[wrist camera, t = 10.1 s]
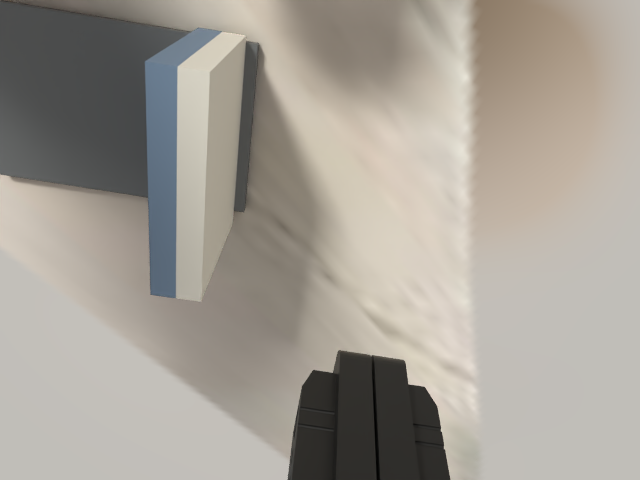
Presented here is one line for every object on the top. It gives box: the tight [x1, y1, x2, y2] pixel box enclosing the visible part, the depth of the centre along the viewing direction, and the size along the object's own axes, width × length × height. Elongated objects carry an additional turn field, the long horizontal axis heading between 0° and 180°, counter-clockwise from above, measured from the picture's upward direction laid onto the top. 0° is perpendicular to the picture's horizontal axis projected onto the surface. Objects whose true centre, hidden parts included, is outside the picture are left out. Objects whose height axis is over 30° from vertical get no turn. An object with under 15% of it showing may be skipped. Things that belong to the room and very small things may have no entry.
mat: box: [0, 0, 259, 212], centre depth 24 cm, size 8×12×1 cm, turn 81°
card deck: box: [145, 28, 246, 302], centre depth 21 cm, size 6×2×9 cm
